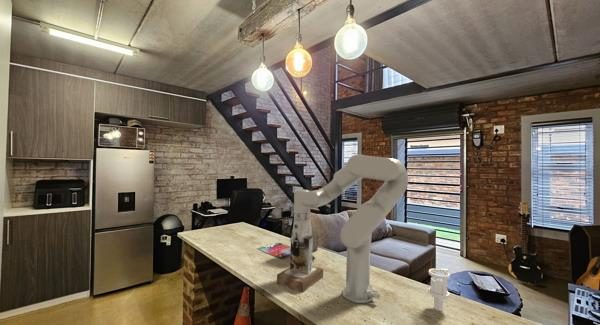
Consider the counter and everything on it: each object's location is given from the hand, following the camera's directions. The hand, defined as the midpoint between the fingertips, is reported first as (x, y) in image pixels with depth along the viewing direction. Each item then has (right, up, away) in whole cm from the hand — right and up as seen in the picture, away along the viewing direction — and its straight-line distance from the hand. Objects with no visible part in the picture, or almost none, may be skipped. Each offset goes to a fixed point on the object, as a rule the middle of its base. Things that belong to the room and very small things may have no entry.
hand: (301, 252), depth 120 cm
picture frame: (0, -13, 0) cm, 13 cm away
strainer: (+52, -14, -22) cm, 58 cm away
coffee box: (0, -8, 0) cm, 8 cm away
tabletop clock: (+1, -13, +28) cm, 31 cm away
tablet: (-13, -13, +41) cm, 45 cm away
